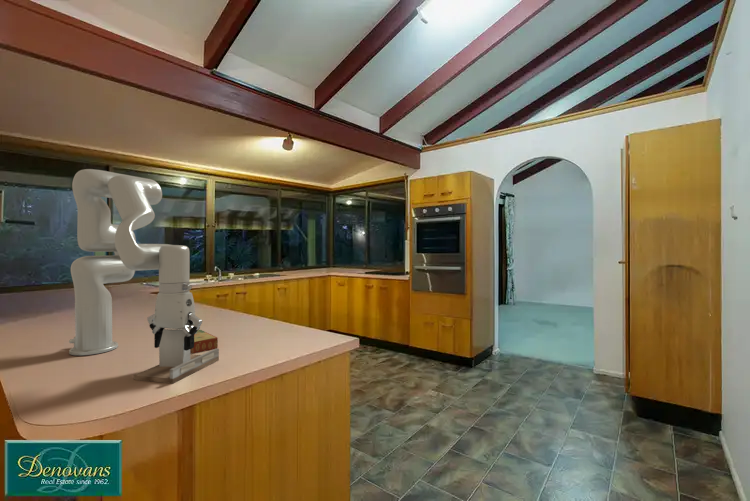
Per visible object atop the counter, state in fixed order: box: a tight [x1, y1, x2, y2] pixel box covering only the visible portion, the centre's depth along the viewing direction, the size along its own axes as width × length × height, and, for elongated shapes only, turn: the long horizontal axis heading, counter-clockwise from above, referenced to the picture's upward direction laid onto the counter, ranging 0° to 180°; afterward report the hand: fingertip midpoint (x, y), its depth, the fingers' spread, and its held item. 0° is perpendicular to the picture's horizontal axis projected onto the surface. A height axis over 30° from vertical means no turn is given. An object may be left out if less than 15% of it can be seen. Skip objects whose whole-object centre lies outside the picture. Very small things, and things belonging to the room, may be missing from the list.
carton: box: [190, 329, 219, 354], centre depth 119 cm, size 8×16×4 cm, turn 46°
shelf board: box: [133, 347, 220, 384], centre depth 97 cm, size 12×18×4 cm
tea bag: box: [158, 328, 191, 367], centre depth 97 cm, size 4×7×10 cm, turn 89°
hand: (174, 347), depth 97 cm, fingers open, 9 cm apart
